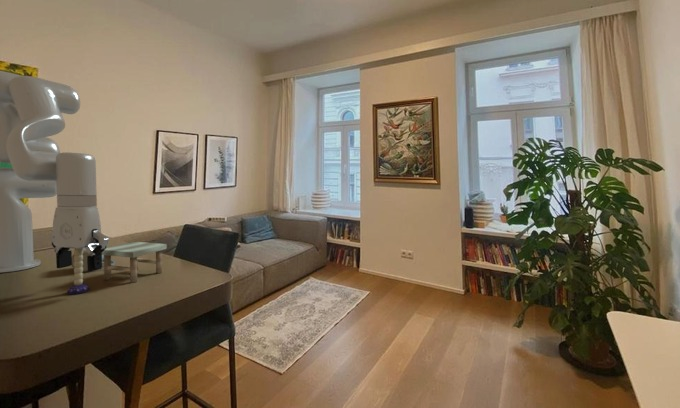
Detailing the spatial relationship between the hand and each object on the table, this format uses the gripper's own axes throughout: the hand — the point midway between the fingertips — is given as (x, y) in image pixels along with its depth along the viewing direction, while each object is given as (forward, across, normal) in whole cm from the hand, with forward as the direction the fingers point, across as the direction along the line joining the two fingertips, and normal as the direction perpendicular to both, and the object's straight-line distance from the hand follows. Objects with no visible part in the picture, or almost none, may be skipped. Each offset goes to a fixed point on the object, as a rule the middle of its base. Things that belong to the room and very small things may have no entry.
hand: (79, 268), depth 75 cm
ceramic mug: (+6, -16, +16) cm, 24 cm away
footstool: (+6, +2, +14) cm, 15 cm away
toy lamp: (+6, 0, 0) cm, 6 cm away
